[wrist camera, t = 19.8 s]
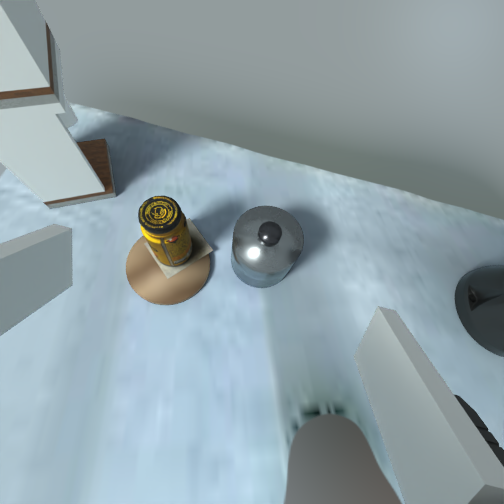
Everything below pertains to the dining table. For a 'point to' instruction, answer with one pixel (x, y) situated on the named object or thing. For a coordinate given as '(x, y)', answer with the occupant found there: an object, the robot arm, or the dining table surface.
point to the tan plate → (163, 277)
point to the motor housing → (265, 245)
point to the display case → (43, 116)
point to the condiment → (170, 235)
